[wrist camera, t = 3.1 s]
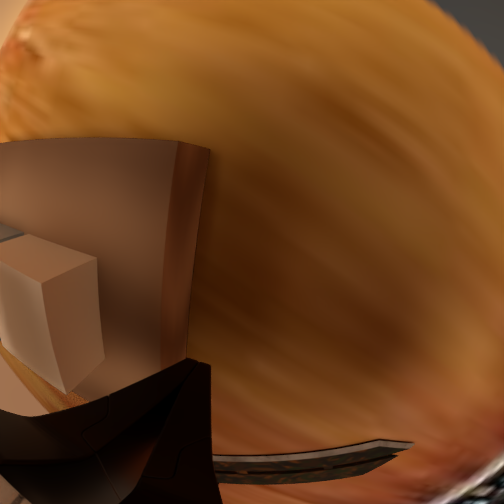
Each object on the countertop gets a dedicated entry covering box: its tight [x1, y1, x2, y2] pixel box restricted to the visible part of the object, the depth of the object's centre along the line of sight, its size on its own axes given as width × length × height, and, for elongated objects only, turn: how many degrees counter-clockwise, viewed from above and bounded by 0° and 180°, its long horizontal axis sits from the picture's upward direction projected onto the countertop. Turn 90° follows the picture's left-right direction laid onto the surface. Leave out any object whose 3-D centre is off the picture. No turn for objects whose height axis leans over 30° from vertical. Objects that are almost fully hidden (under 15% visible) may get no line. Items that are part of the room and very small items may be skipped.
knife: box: [213, 440, 414, 485], centre depth 16 cm, size 25×6×1 cm, turn 103°
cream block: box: [0, 234, 105, 395], centre depth 9 cm, size 5×5×3 cm
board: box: [0, 138, 210, 402], centre depth 12 cm, size 14×16×3 cm
